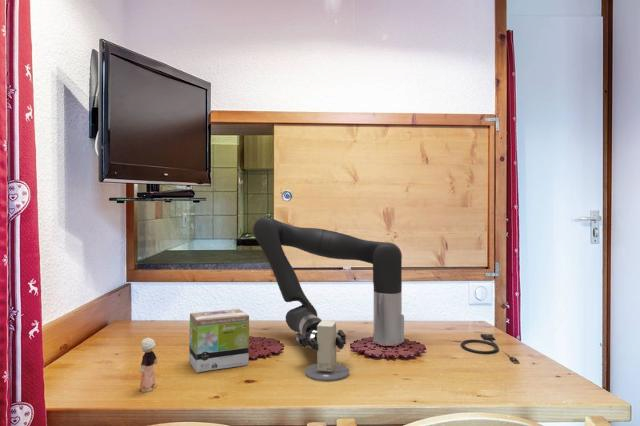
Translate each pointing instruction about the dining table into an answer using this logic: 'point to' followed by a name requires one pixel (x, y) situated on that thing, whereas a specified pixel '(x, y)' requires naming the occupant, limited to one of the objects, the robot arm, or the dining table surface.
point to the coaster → (327, 373)
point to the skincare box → (326, 346)
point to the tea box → (218, 339)
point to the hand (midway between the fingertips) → (329, 346)
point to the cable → (488, 337)
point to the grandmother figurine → (148, 365)
